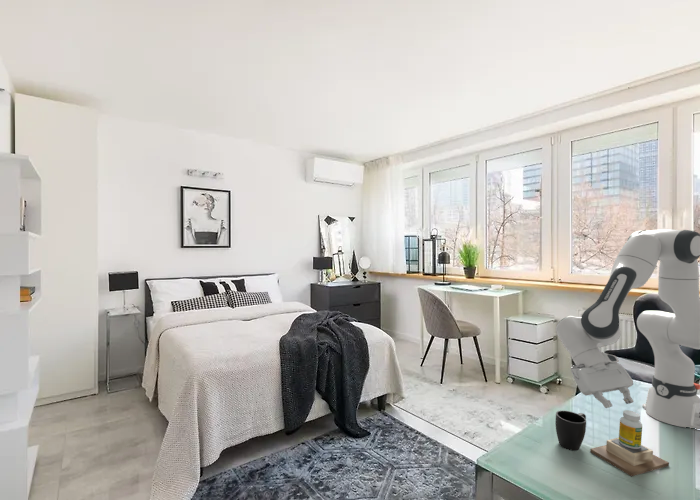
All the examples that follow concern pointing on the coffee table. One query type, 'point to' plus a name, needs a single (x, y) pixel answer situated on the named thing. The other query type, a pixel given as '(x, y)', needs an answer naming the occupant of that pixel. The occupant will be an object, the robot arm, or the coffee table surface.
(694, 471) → the coffee table surface
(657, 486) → the coffee table surface
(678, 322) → the robot arm
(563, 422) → the mug
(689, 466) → the coffee table surface
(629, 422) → the supplement bottle
